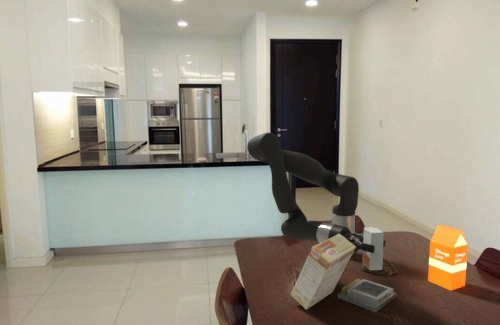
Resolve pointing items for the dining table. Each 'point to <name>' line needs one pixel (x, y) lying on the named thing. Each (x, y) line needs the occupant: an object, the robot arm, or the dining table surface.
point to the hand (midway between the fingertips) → (379, 246)
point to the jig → (367, 294)
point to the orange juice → (448, 258)
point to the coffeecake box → (322, 270)
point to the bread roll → (386, 269)
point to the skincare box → (375, 238)
